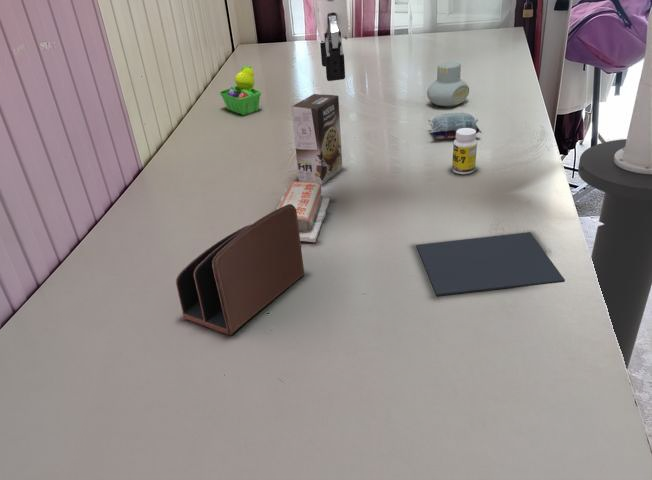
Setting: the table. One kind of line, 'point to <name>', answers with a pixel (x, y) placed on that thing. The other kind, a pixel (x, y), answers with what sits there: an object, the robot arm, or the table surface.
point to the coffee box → (317, 137)
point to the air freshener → (448, 85)
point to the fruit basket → (242, 93)
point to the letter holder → (242, 272)
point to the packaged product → (307, 207)
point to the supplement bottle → (464, 151)
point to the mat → (487, 264)
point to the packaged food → (452, 124)
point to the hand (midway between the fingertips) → (333, 72)
